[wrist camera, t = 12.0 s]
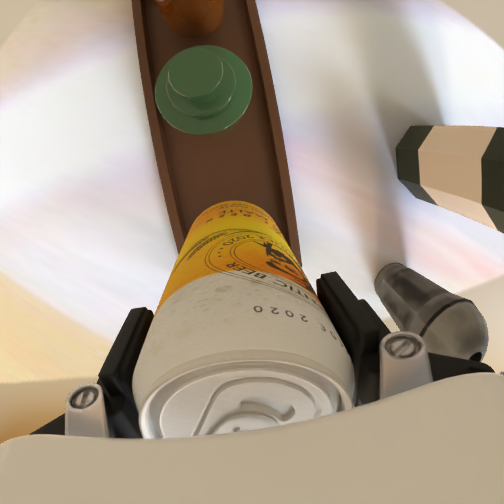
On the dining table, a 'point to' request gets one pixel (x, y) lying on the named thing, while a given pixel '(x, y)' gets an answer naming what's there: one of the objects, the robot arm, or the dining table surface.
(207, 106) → the green bottle
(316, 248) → the dining table surface
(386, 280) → the beverage cup
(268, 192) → the tray
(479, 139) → the wine bottle
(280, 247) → the beer can
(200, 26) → the amber bottle
